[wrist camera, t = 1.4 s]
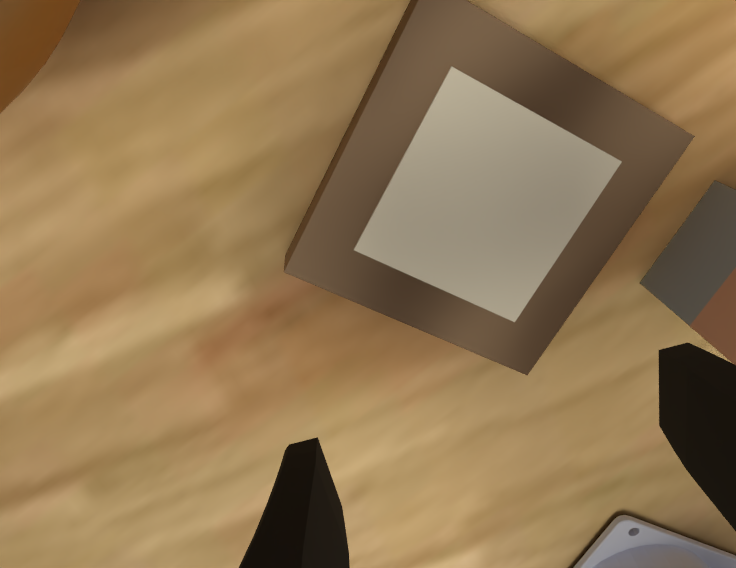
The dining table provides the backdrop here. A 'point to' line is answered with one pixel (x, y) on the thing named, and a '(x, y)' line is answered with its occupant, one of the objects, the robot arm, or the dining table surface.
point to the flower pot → (28, 40)
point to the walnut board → (480, 185)
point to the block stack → (702, 270)
